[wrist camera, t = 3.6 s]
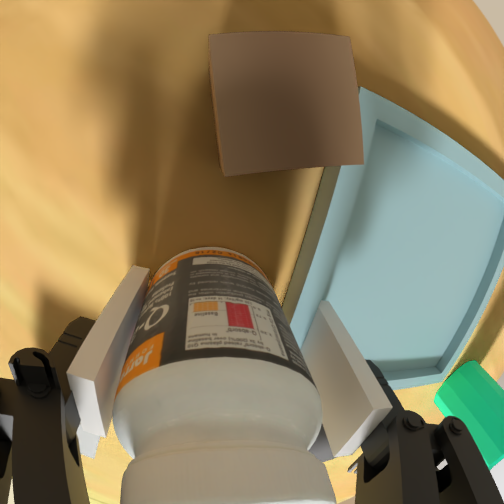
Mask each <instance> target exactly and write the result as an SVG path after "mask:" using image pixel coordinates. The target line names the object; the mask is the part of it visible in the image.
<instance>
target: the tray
mask: <svg viewBox="0 0 504 504" xmlns="http://www.w3.org/2000/svg"><path fill="white" fill-rule="evenodd" d="M358 94H359V103H360V112H361V123H362V136H363V152H364V165H343V166H327V167H325V168H324V172H323V175H322V179H321V183H320V186H319V190H318V193H317V197H316V200H315V204H314V207H313V211H312V214H311V217H310V221H309V224H308V227H307V231H306V234H305V237H304V240H303V244H302V247H301V250H300V253H299V257H298V260H297V263H296V266H295V269H294V272H293V275H292V278H291V281H290V284H289V287H288V291H287V294H286V297H285V300H284V302H283V305H282V310H283V312H284V314H285V317H286V319H287V321H288V323H289V325H290V328H291V330H292V332H293V334H294V337H295V339H296V342H297V344H298V346H299V348H300V350H301V348H302V346H303V343H304V341H305V338H306V336H307V334H308V331H309V329H310V327H311V324H312V322H313V319H314V317H315V314H316V312H317V309H318V307H319V304H320V302H321V300H323V301H329V302H330V304H331V306H332V307H333V309H334V310H335V312H336V313H337V315H338V317H339V318H340V320H341V321H342V323H343V325H344V326H345V328H346V329H347V331H348V333H349V334H350V336H351V338H352V339H353V341H354V342H355V344H356V346H357V347H358V349H359V351H360V352H361V354H362V356H363V357H364V359H365V360H371V361H372V362H373V363H374V364H375V365H376V366H377V367H378V368H379V369H380V371H381V372H382V374H383V375H384V378H385V379H386V380H387V382H388V383H389V384H388V385H389V386H390V387H391V388H392V390H398V389H404V388H411V387H417V386H423V385H428V384H433V383H438V382H442V381H443V380H444V378H445V377H446V375H447V374H448V372H449V371H450V369H451V368H452V366H453V365H454V363H455V362H456V360H457V358H458V357H459V355H460V354H461V352H462V350H463V349H464V347H465V345H466V344H467V342H468V340H469V338H470V337H471V335H472V333H473V331H474V329H475V327H476V326H477V324H478V322H479V320H480V318H481V316H482V314H483V312H484V310H485V308H486V306H487V304H488V302H489V300H490V297H491V295H492V293H493V291H494V289H495V286H496V284H497V282H498V279H499V277H500V274H501V272H502V269H503V267H504V180H503V179H502V178H501V177H500V176H499V175H498V174H496V173H495V172H494V171H493V170H492V169H491V168H489V167H488V166H487V165H486V164H485V163H483V162H482V161H481V160H480V159H478V158H477V157H476V156H475V155H473V154H472V153H471V152H469V151H468V150H467V149H465V148H464V147H463V146H461V145H460V144H459V143H457V142H456V141H454V140H453V139H451V138H450V137H449V136H447V135H446V134H444V133H443V132H441V131H440V130H438V129H437V128H435V127H434V126H432V125H430V124H429V123H427V122H426V121H424V120H422V119H421V118H419V117H418V116H416V115H414V114H412V113H411V112H409V111H407V110H406V109H404V108H402V107H400V106H398V105H397V104H395V103H393V102H391V101H389V100H387V99H385V98H383V97H381V96H379V95H377V94H375V93H373V92H371V91H369V90H367V89H365V88H363V87H358Z"/></svg>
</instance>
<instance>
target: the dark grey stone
mask: <svg viewBox="0 0 504 504" xmlns="http://www.w3.org/2000/svg"><path fill="white" fill-rule="evenodd" d="M308 451H309V452H311V453H312V454H313V455H314V456H315V457H316V458H317V459H319V460H320V461H322V462H325V461H328V460H331V459H334V458H336V457H334V456H333V453H332V450H331V447H330V444H329V441H328V438H327V436H326V433H325V430H324V427H323V424H321V429H320V431H319V434H318V436H317V438H316V440H315V442H314V443H313V445H312V446H311V448H310V449H309V450H308Z"/></svg>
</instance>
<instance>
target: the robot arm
mask: <svg viewBox="0 0 504 504" xmlns="http://www.w3.org/2000/svg"><path fill="white" fill-rule="evenodd" d="M149 271H150V269H148V268H144V267H139V266H134V265H133V266H132V267H131V269H130V270H129V272H128V273H127V274H126V276H125V277H124V279H123V280H122V282H121V283H120V285H119V286H118V288H117V289H116V291H115V292H114V294H113V295H112V297H111V298H110V300H109V302H108V303H107V305H106V306H105V308H104V309H103V311H102V312H101V314H100V316H99V317H98V319H97V320H96V321H95V320H91V319H88V318H84V317H79V318H77V319H76V320H74V321H72V322H71V323H70V324H69V325H68V327H67V328H66V329H65V331H64V333H63V334H62V335H61V337H60V338H59V339H58V342H56V344H55V345H54V347H53V348H52V350H51V351H50V353H47V352H45V351H44V350H42V349H38V348H24V349H22V350H19V351H17V352H16V353H15V354H14V355H13V356H11V358H10V361H9V363H8V364H9V367H10V369H11V372H12V375H13V377H14V380H12V379H5V378H0V504H7V503H8V496H9V490H10V485H11V479H13V492H14V502H15V504H90V502H89V498H88V493H87V488H86V484H85V478H84V473H83V467H82V461H81V454H80V447H79V439H78V436H77V433H76V432H77V430H78V427H79V424H80V422H81V425H82V428H83V431H86V432H89V433H92V434H95V435H98V436H101V437H105V438H106V436H107V433H108V429H109V426H110V422H111V419H112V416H113V413H112V411H113V404H114V399H115V395H116V390H117V387H118V383H119V380H120V376H121V372H122V368H123V365H124V362H125V359H126V354H127V351H128V348H129V344H130V341H131V338H132V335H133V332H134V329H135V326H136V323H137V320H138V316H139V314H140V310H141V307H142V304H143V301H144V298H145V295H146V292H147V289H148V280H149ZM300 351H301V353H302V355H303V358H304V360H305V362H306V365H307V367H308V369H309V371H310V373H311V376H312V379H313V381H314V383H315V385H316V388H317V390H318V392H319V395H320V398H321V404H322V412H323V417H322V424H323V427H324V430H325V433H326V436H327V438H328V441H329V444H330V447H331V450H332V453H333V456H334V457H339V456H347V455H352V454H353V453H354V452H355V451H356V450H357V449H358V448H359V447H360V446H361V448H362V451H363V454H362V455H361V456H360V457H359V458H358V459H357V460H356V461H355V462H354V463H353V464H352V465H351V466H350V467H349V468H348V471H347V472H351V471H352V470H353V469H354V468H355V467H356V466H357V469H356V470H355V472H354V473H357V482H356V496H355V497H356V498H355V504H504V502H503V500H502V497H501V495H500V493H499V490H498V488H497V486H496V484H495V481H494V479H493V478H492V475H491V473H490V471H489V468H488V466H487V464H486V462H485V460H484V458H483V456H482V454H481V452H480V450H479V449H478V447H477V445H476V443H475V441H474V439H473V437H472V435H471V434H470V432H469V430H468V428H467V426H466V425H465V423H464V422H463V421H462V420H460V418H458V417H455V416H447V417H445V418H444V419H443V421H442V422H441V423H440V424H439V425H436V424H427V423H425V421H424V419H423V418H422V417H421V416H420V415H418V414H417V413H415V412H413V411H410V410H404V408H403V407H402V405H401V403H400V402H399V400H398V398H397V397H396V395H395V393H394V392H393V390H392V388H391V387H390V386H389V385H388V384H389V383H388V382H387V380H386V379H385V378H384V375H383V374H382V372H381V371H380V369H379V368H378V367H377V366H376V365H375V364H374V363H373V362H372V361H371V360H365V359H364V357H363V356H362V354H361V352H360V351H359V349H358V347H357V346H356V344H355V342H354V341H353V339H352V338H351V336H350V334H349V333H348V331H347V329H346V328H345V326H344V325H343V323H342V321H341V320H340V318H339V317H338V315H337V313H336V312H335V310H334V309H333V307H332V306H331V304H330V302H329V301H323V300H321V302H320V304H319V307H318V309H317V312H316V314H315V317H314V319H313V322H312V324H311V327H310V329H309V331H308V334H307V336H306V338H305V341H304V343H303V346H302V348H301V350H300ZM444 459H446V461H447V463H448V464H447V465H446V466H445V467H444V468H443V469H441V470H439V469H438V468H437V467H436V466H438V465H439V464H440V463H441V462H442V461H443V460H444Z"/></svg>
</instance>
